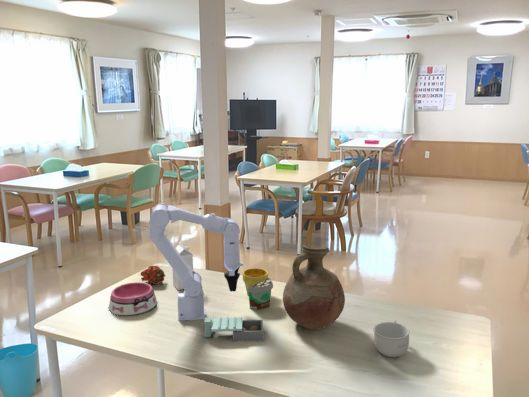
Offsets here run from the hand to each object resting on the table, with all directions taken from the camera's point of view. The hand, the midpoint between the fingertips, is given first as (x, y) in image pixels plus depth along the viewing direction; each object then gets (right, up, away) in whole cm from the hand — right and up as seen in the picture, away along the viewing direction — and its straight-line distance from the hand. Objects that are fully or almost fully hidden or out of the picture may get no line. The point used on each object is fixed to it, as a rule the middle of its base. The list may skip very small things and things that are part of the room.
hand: (233, 286), depth 168 cm
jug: (+29, -12, -8) cm, 32 cm away
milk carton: (-23, -5, +27) cm, 36 cm away
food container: (+11, -9, +6) cm, 16 cm away
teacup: (+52, -16, -23) cm, 60 cm away
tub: (+6, -14, -15) cm, 22 cm away
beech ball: (+4, -13, -16) cm, 21 cm away
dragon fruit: (-38, -5, +30) cm, 48 cm away
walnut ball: (+8, -13, -15) cm, 21 cm away
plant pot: (+8, -7, +18) cm, 21 cm away
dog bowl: (-40, -9, +9) cm, 42 cm away
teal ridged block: (-2, -13, -16) cm, 21 cm away
